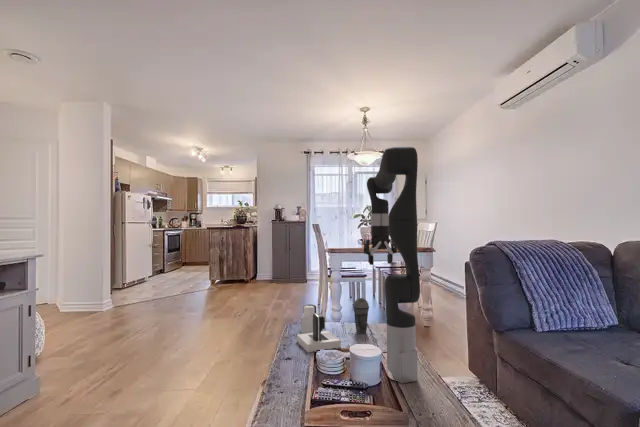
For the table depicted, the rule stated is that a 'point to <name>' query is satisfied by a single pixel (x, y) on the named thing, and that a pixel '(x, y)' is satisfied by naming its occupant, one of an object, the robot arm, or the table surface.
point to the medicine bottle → (307, 318)
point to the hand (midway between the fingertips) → (380, 264)
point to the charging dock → (312, 345)
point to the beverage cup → (361, 314)
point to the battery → (318, 326)
